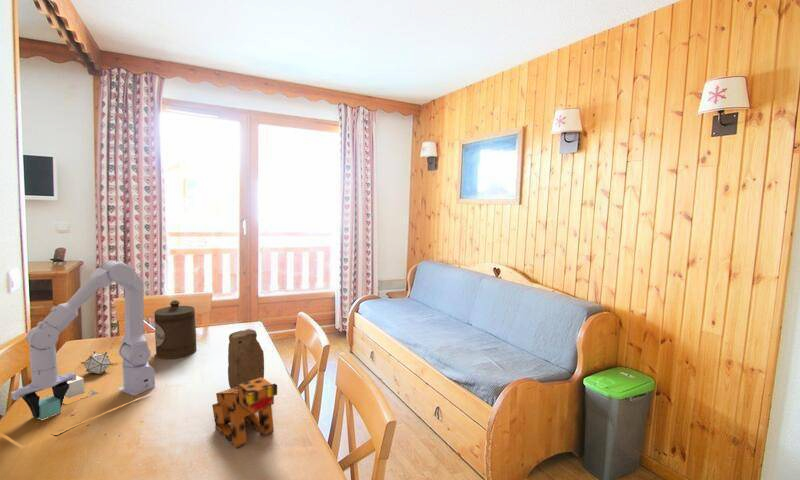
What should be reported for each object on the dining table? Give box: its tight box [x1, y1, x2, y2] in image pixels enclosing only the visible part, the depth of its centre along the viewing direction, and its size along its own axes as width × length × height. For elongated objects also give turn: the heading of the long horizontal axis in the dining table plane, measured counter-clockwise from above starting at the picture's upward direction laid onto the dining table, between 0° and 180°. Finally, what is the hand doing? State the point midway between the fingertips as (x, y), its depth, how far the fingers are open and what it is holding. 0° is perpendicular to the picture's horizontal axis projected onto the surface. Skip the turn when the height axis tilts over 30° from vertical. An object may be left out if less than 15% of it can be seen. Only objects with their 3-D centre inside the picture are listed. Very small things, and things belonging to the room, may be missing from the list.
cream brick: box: [65, 375, 85, 398], centre depth 131 cm, size 5×5×5 cm
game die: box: [81, 350, 114, 375], centre depth 147 cm, size 9×8×10 cm
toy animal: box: [211, 377, 278, 448], centre depth 113 cm, size 10×20×16 cm, turn 47°
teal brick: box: [38, 396, 62, 419], centre depth 119 cm, size 5×5×5 cm
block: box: [227, 328, 265, 389], centre depth 138 cm, size 11×8×20 cm
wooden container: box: [154, 299, 197, 360], centre depth 168 cm, size 15×15×22 cm
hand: (47, 412), depth 119 cm, fingers closed on teal brick, 5 cm apart
